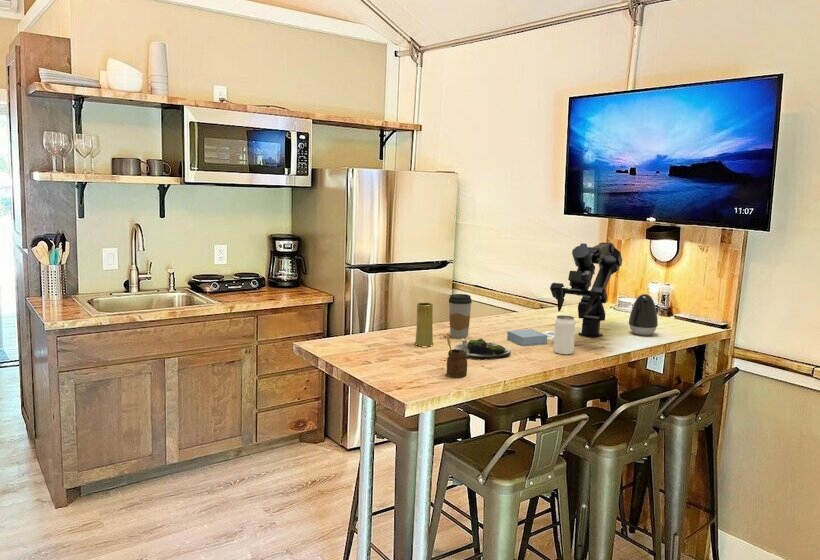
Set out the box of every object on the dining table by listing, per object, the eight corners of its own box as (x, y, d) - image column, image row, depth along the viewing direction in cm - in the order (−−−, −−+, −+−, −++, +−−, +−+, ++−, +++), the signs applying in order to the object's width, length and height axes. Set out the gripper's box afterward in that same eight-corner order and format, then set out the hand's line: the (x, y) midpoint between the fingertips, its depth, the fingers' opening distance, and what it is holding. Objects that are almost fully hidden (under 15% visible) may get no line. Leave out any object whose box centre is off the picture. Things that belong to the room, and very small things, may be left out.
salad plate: (442, 347, 219) (442, 334, 218) (488, 343, 226) (489, 330, 225) (467, 362, 201) (467, 348, 201) (517, 358, 208) (517, 344, 207)
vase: (412, 345, 219) (413, 304, 217) (418, 341, 225) (419, 301, 223) (429, 347, 217) (430, 306, 215) (435, 343, 223) (436, 303, 221)
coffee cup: (472, 334, 236) (473, 294, 234) (468, 340, 228) (469, 298, 226) (450, 333, 239) (451, 293, 236) (445, 338, 231) (446, 296, 228)
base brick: (530, 337, 234) (531, 329, 234) (547, 343, 225) (547, 335, 225) (507, 339, 231) (507, 331, 230) (522, 346, 221) (522, 337, 221)
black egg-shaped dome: (628, 336, 238) (631, 295, 236) (627, 330, 248) (630, 291, 246) (658, 338, 236) (661, 297, 233) (655, 332, 246) (658, 292, 243)
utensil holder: (463, 378, 184) (464, 337, 182) (442, 376, 186) (443, 335, 184) (469, 373, 189) (470, 333, 187) (449, 370, 191) (450, 331, 190)
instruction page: (548, 330, 245) (548, 330, 245) (569, 334, 239) (569, 334, 239) (531, 336, 236) (531, 335, 236) (553, 340, 230) (553, 339, 230)
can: (565, 356, 210) (567, 320, 208) (549, 352, 214) (551, 316, 212) (577, 352, 214) (579, 317, 212) (561, 348, 219) (563, 314, 217)
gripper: (553, 259, 224) (540, 295, 217) (607, 264, 215) (595, 301, 207) (559, 279, 232) (547, 314, 225) (612, 284, 222) (601, 321, 215)
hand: (571, 312), depth 218 cm, fingers open, 9 cm apart
